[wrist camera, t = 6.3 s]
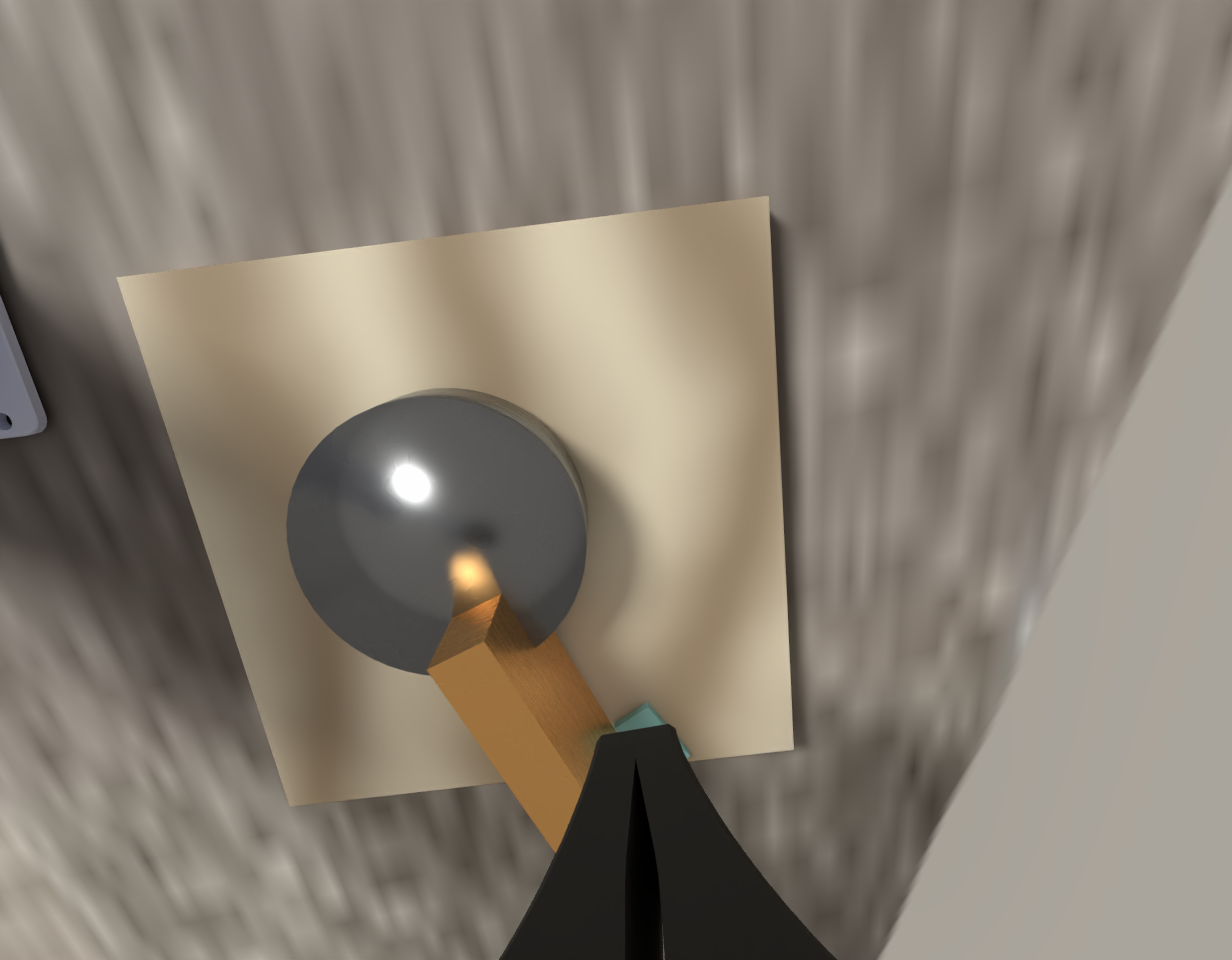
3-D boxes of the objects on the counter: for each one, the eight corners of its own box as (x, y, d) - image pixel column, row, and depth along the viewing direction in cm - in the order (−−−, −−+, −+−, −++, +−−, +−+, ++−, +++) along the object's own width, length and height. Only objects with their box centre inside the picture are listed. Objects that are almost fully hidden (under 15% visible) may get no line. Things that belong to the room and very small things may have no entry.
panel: (303, 785, 22) (289, 806, 21) (143, 279, 18) (116, 277, 17) (785, 730, 22) (793, 749, 21) (759, 202, 17) (768, 195, 16)
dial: (268, 466, 18) (154, 519, 13) (503, 337, 17) (467, 347, 12) (495, 785, 21) (465, 916, 16) (701, 690, 20) (730, 800, 16)
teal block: (614, 722, 21) (614, 728, 20) (647, 701, 21) (647, 707, 20) (656, 770, 21) (657, 777, 21) (688, 750, 21) (690, 756, 21)
